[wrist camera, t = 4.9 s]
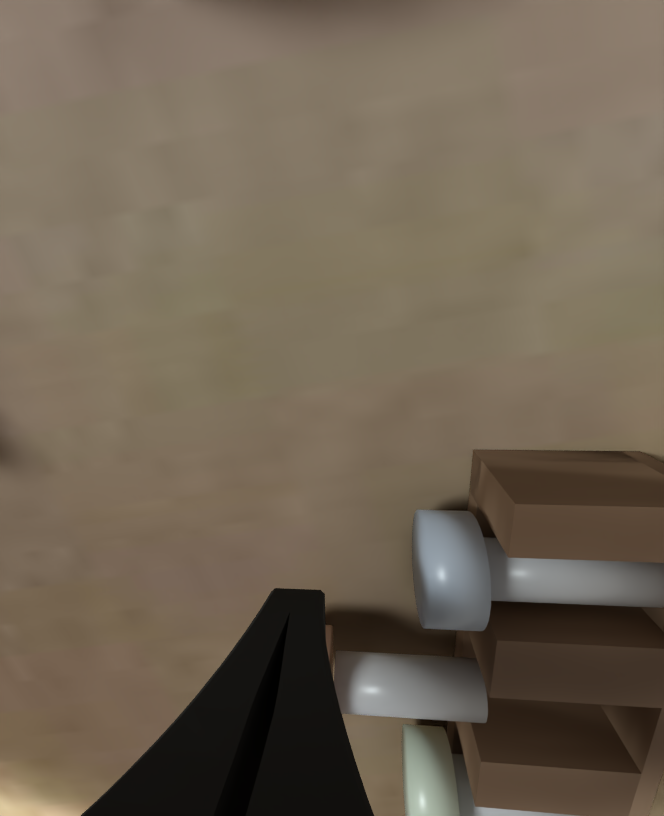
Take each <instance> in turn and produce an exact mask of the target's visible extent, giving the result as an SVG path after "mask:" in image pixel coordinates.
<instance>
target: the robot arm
mask: <svg viewBox="0 0 664 816" xmlns="http://www.w3.org/2000/svg"><path fill="white" fill-rule="evenodd" d="M81 816H374V814H373V812H372V809H371V806H370V803H369V801H368V798H367V795H366V792H365V789H364V786H363V783H362V780H361V777H360V774H359V771H358V768H357V765H356V762H355V759H354V755H353V752H352V749H351V745H350V742H349V739H348V736H347V732H346V729H345V725H344V721H343V718H342V714H341V710H340V706H339V702H338V698H337V694H336V690H335V686H334V681H333V677H332V672H331V667H330V661H329V656H328V651H327V645H326V626H325V594H324V593H323V592H322V591H321V590H305V589H280V588H275V589H274V590H273V591H272V592H271V593H270V595H269V596H268V598H267V600H266V601H265V603H264V604H263V606H262V608H261V609H260V611H259V612H258V614H257V615H256V617H255V618H254V620H253V621H252V623H251V624H250V626H249V627H248V629H247V630H246V632H245V633H244V634H243V636H242V637H241V639H240V640H239V641H238V643H237V644H236V645H235V647H234V648H233V650H232V651H231V652H230V654H229V655H228V656H227V658H226V659H225V660H224V662H223V663H222V664H221V666H220V667H219V668H218V669H217V671H216V672H215V673H214V674H213V676H212V677H211V678H210V679H209V681H208V682H207V683H206V684H205V686H204V687H203V688H202V689H201V691H200V692H199V693H198V694H197V696H196V697H195V698H194V699H193V700H192V702H191V703H190V704H189V705H188V706H187V707H186V709H185V710H184V711H183V712H182V713H181V714H180V715H179V717H178V718H177V719H176V720H175V721H174V722H173V723H172V724H171V726H170V727H169V728H168V729H167V730H166V731H165V732H164V733H163V734H162V735H161V737H160V738H159V739H158V740H157V741H156V742H155V743H154V744H153V745H152V746H151V747H150V748H149V749H148V750H147V751H146V752H145V753H144V754H143V755H142V756H141V757H140V758H139V759H138V761H137V762H136V763H135V764H134V765H133V766H132V767H131V768H130V769H129V770H128V771H127V772H126V773H125V774H124V775H123V776H122V777H121V778H120V779H119V780H118V781H117V782H116V783H115V784H114V785H113V786H112V787H111V788H110V789H109V790H108V791H107V792H106V793H105V794H103V795H102V796H101V797H100V798H99V799H98V800H97V801H96V802H95V803H94V804H93V805H92V806H91V807H90V808H88V809H87V810H86V811H85V812H84V813H83V814H82V815H81Z"/></svg>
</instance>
